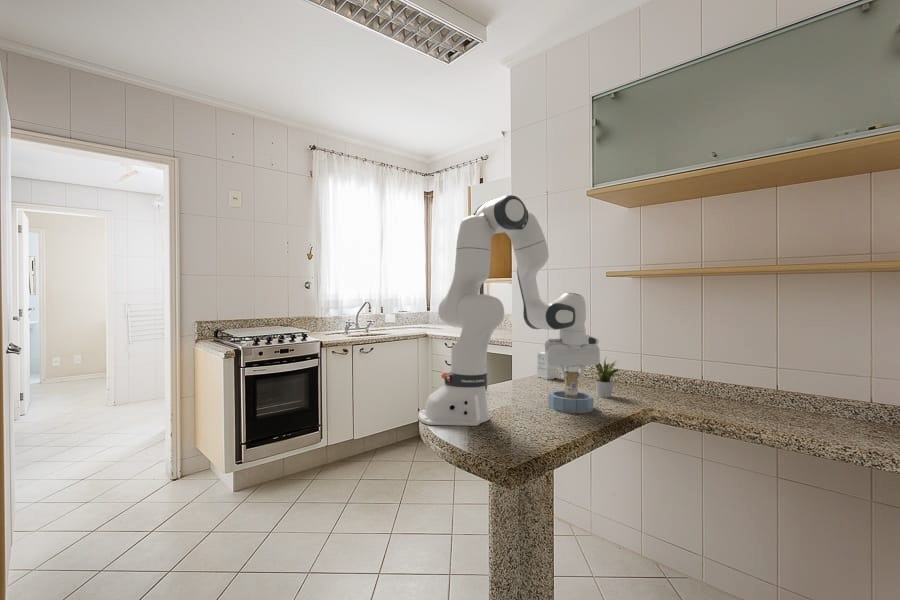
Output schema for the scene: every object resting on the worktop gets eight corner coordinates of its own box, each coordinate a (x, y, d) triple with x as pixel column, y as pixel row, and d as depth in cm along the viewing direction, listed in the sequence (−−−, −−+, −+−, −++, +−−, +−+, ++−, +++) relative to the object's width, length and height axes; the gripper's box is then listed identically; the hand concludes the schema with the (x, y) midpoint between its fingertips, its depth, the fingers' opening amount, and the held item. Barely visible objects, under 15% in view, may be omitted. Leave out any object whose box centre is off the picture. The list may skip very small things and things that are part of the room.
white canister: (547, 376, 213) (548, 351, 214) (558, 378, 207) (558, 353, 207) (536, 377, 210) (537, 352, 210) (546, 379, 203) (547, 353, 203)
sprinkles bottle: (569, 405, 146) (570, 366, 146) (561, 402, 150) (562, 364, 150) (580, 404, 148) (581, 366, 148) (572, 401, 152) (572, 364, 152)
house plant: (583, 398, 164) (584, 356, 165) (581, 391, 178) (582, 352, 178) (622, 401, 161) (623, 358, 161) (617, 394, 174) (618, 354, 174)
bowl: (561, 413, 140) (561, 400, 140) (542, 403, 155) (542, 390, 155) (601, 412, 143) (601, 399, 143) (579, 402, 158) (579, 390, 158)
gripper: (549, 339, 144) (548, 379, 144) (602, 339, 148) (602, 378, 148) (541, 337, 150) (540, 376, 150) (593, 338, 154) (592, 375, 154)
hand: (571, 377), depth 149 cm, fingers closed on sprinkles bottle, 4 cm apart
